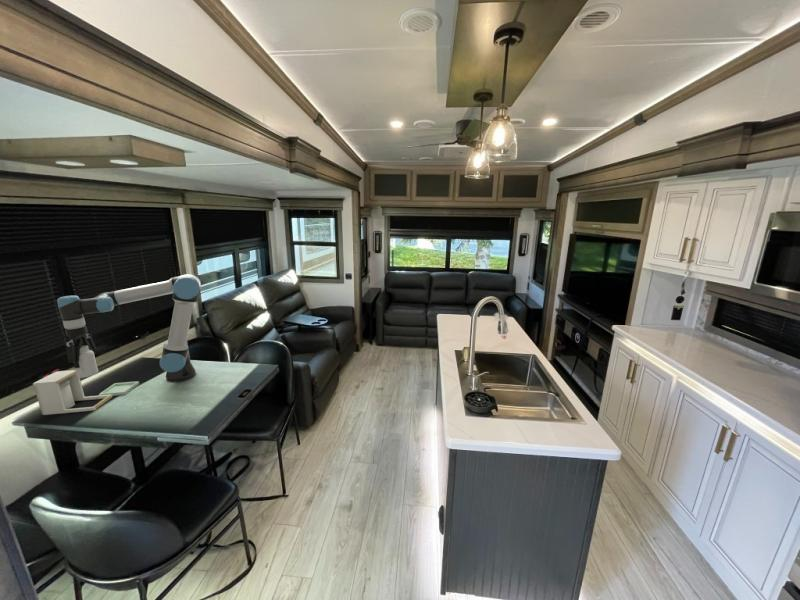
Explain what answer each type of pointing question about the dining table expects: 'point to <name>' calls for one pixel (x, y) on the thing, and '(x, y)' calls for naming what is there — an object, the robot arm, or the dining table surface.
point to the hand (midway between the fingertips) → (87, 369)
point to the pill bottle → (87, 362)
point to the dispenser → (63, 393)
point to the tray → (120, 388)
